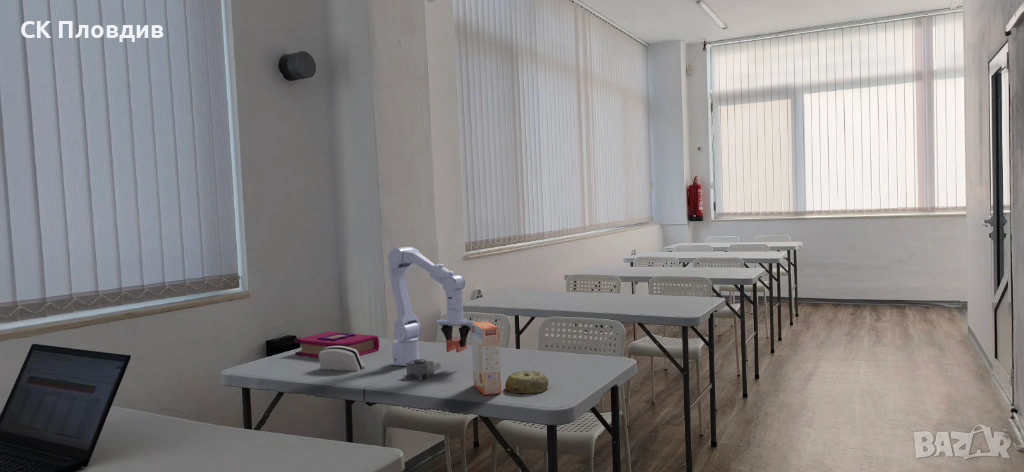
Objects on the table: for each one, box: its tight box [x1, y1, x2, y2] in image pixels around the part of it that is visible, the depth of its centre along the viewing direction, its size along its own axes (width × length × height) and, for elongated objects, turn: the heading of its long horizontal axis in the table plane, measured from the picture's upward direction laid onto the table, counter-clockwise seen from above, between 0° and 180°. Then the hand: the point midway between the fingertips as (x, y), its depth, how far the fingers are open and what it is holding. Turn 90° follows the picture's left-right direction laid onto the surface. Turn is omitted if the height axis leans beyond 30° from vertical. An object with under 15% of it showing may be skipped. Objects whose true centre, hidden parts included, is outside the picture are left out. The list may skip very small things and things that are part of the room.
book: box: [294, 331, 380, 359], centre depth 289 cm, size 21×28×8 cm
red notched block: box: [445, 336, 468, 353], centre depth 251 cm, size 5×7×4 cm, turn 158°
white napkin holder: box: [318, 346, 366, 372], centre depth 259 cm, size 17×5×10 cm, turn 70°
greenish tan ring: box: [505, 370, 549, 395], centre depth 221 cm, size 14×13×5 cm
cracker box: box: [471, 320, 502, 396], centre depth 222 cm, size 14×6×21 cm, turn 17°
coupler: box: [403, 358, 442, 382], centre depth 246 cm, size 19×8×6 cm, turn 158°
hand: (456, 346), depth 251 cm, fingers closed on red notched block, 5 cm apart
